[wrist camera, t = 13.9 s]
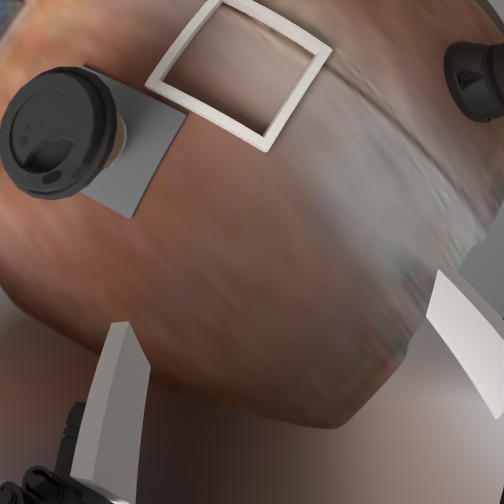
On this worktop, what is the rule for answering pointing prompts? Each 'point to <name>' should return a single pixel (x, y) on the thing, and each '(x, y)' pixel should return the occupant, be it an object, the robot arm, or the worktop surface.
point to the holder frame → (154, 83)
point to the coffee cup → (60, 133)
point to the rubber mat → (134, 148)
